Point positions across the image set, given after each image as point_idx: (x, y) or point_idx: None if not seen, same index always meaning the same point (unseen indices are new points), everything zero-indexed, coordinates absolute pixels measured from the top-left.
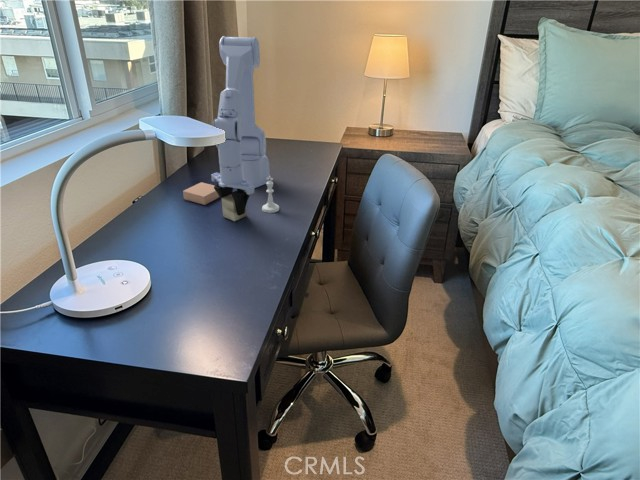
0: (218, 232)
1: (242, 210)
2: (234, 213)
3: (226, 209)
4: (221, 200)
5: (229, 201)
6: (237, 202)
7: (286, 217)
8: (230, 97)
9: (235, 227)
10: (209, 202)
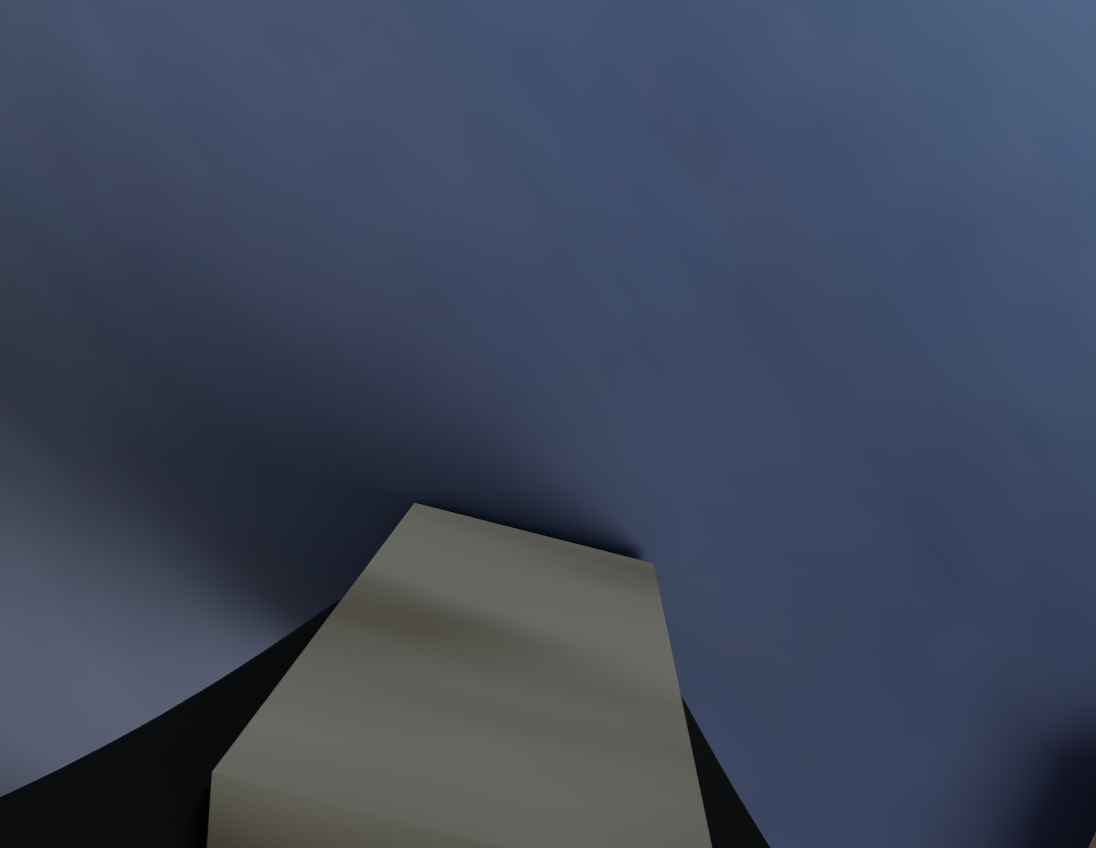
0: (410, 88)
1: None
2: (361, 582)
3: (557, 637)
4: (759, 844)
5: (365, 806)
6: (27, 803)
7: None
8: None
9: (300, 365)
10: (1090, 844)
